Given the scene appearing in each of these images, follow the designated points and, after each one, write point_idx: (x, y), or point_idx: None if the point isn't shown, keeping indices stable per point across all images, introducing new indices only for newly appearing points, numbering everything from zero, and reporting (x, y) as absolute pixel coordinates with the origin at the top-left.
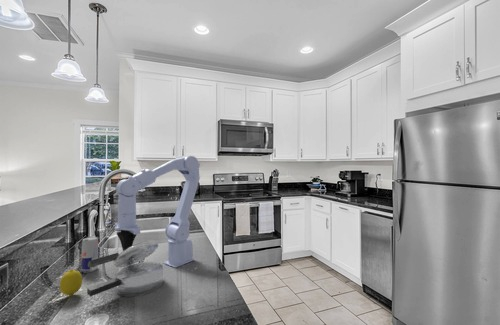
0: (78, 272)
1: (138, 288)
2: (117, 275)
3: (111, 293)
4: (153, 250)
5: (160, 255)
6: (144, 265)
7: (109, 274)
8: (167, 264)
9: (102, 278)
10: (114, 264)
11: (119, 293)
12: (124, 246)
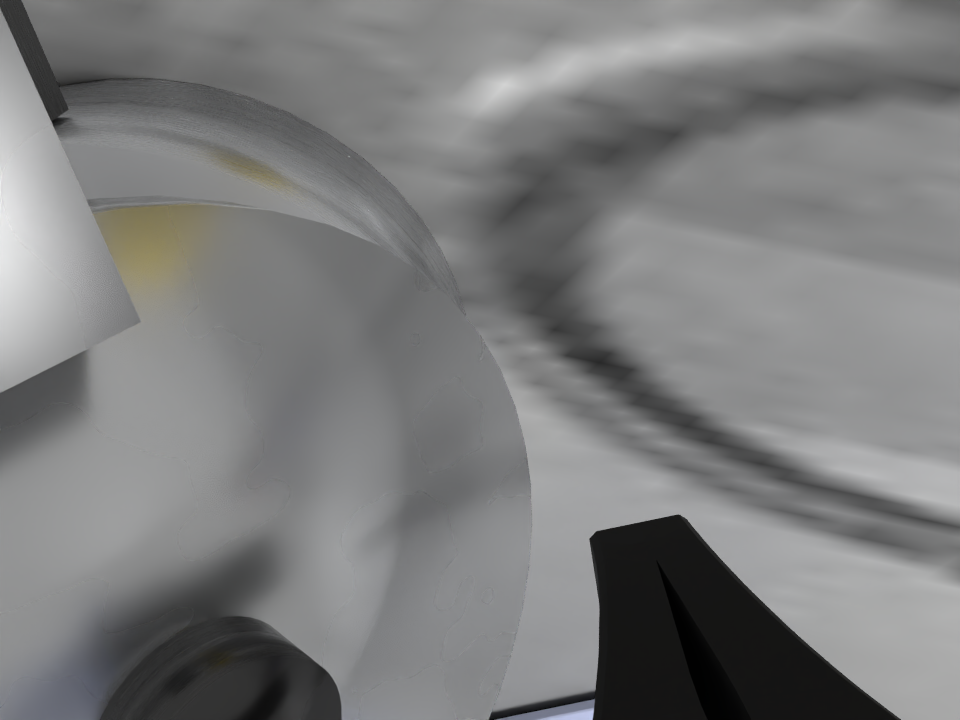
0: None
1: None
2: (106, 166)
3: (163, 8)
4: None
5: (897, 714)
6: None
7: (889, 131)
8: (553, 709)
9: (833, 11)
10: (153, 198)
11: None
12: (604, 647)
